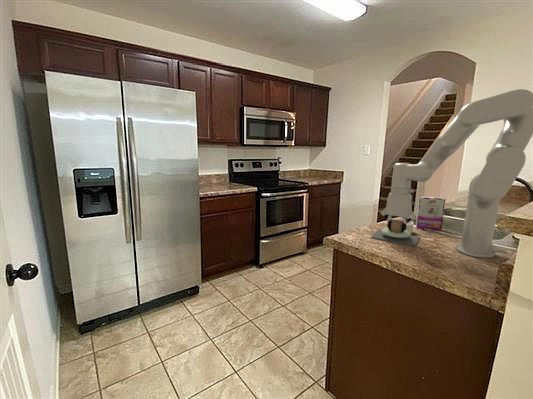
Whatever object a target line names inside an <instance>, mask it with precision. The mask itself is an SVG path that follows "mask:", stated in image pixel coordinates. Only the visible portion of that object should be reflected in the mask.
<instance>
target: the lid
mask: <svg viewBox="0 0 533 399" xmlns="http://www.w3.org/2000/svg"><path fill="white" fill-rule="evenodd" d="M391 219H392V220H391V227H390V230H388V227H387V226H386V227H383V228H381V230H382V233H383V234H385V235H387V236H391V237H396V238H408V237H410V236H412V234H411V232H409V231H407V230H404V232H402V224H403V221H402V220H397V219H394V218H391Z"/></svg>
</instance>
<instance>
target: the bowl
mask: <svg viewBox="0 0 533 399" xmlns="http://www.w3.org/2000/svg"><path fill="white" fill-rule="evenodd" d="M392 219H397V220H402V221H403V218H398V217H397V218H391V220H392ZM403 222H404V221H403ZM414 224H415V222H414V221H413V220H411V221H410V222H408V223H407V224H406V230H407V231H409V232H411V235H412V234H413V231H414Z"/></svg>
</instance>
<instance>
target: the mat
mask: <svg viewBox="0 0 533 399" xmlns="http://www.w3.org/2000/svg"><path fill="white" fill-rule="evenodd" d="M371 239H373V240H379V241H383V242H384V241H385V242H389V243H394V244H398V245H404V246H410V247H414V248H416V247H417V246H418V245H417V244H418V242H419V240H418V239H420V236H417V235H416V236H415V235H411V236H410V237H408V238H396V237H391V236H387V235H385V234H383V233H382V229H381V230H380V229H377V230H376V231H375V232H374V233H373V234H372V236H371Z"/></svg>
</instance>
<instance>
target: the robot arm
mask: <svg viewBox="0 0 533 399" xmlns="http://www.w3.org/2000/svg"><path fill="white" fill-rule="evenodd" d="M502 120H503V127H502V130H501V131H500V133H499V135H498V137H497V139H496V140H495V143H494V144H493V145H492V148H490V151H489V152H488V153H487V155H486V157H485V164H484V166H483V168H482V170H481V171H480V173H479V174H476V175H475V176H474V177H473V178H472V179H471V181H470V182H469V186H468V193H467V194H468V195H467V204H466V210H465V215H464V216H465V217H464V220H463V221H464V222H463V228H462V235H461V240H460V243H458V244H455V250H456V251H457V252H459V253H462V254H464V255H467V256H470V257H474V258H481V259H491V258H494V257H496V253H500V254H504V255H507V254H508V248H504V247H503V246H499V245H498V246H497V245H495V244H493V238H494V234H495V228H496V225H497V224H496V223H497V218H498V215H499V214H498V213H499V208H500V200H501V199H502V198H504V197H505V195H507V193H508V192H509V190H510V189H511V187H512V185H513V184H514V182H515V181H516V179H517V178H518V176H519V174H520V173H521V171H522V169H523V168H524V166H525V163H526V161H527V159H526V158H527V157H526V153H525V149H526V148H527V146H528V144H529V142H530V140H531V139H532V137H533V92H532V91H531V90H528V89H526V88H525V89H524V88H520V89H519V88H518V89H514V90H510V91H506V92H502V93H499V94H495V95H493V96H489V97H486V98H485V97H484V98H482V99H479V100H474V101H472V102H468V103H467V104H464V106H463V107H461V109H460V111H459V112H458V113H457V115H456V116H455V117H454V118H453V119H452V121H450V123H449V124H448V125H447V126H446V128H445V129H444V130H443V131H442V132H441V133H440V135H439V136H438V137H437V138H436V140H435V141H434V143H433V144H432V146H431V147H430V148H429V150H428V152H426V154H425V155H424V156H423V157H422V158H421V159H420V160H419V161H418V163H415V164H414V163H413V164H411V163H409V162H396V163H395V164H393V167H392V168H393V169H392V178H391V187H390V192H389V193H388V196H387V199H386V200H387V201H386V206H385V207H384V209H382V210H381V212H380V213H379V214H380V215H382V216H383V217H384V218H385V220H386V221H387V225H386V228H387V227H388V230H390V227H391V219H393V218H392V217H393V216H394V217H397V218H398V217H400V218H402V219H403V221H404V222H403V224H402V232H404V230H406V224H407V223H408V222H410V221H413V220H416V217H417V214H415V213H414V211H413V210H412V209H413V196H412V193H414V191H415V190H414V189H412V188H411V186H412V181H413V182H419V183H423V182H427V181H429V180H430V179H431V178H433V175H434V173H436V171H437V170H438V169H439V168H440V167H441V166H442V165H443V163H444V162H445V161H446V160H447V159H448V158H449V157H451V156H452V155H454V153H456V152H457V151H458V150H459V149H461V147H462V145H464V143H465V142H466V141H467V140H468V139H469V138H470V136H472V134H473V133H474V132H475V131H476V130H477V129H478V128H479V127H480V126H481V125H485V124H489V123H494V122H497V121H502ZM410 216H411V217H410Z"/></svg>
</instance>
